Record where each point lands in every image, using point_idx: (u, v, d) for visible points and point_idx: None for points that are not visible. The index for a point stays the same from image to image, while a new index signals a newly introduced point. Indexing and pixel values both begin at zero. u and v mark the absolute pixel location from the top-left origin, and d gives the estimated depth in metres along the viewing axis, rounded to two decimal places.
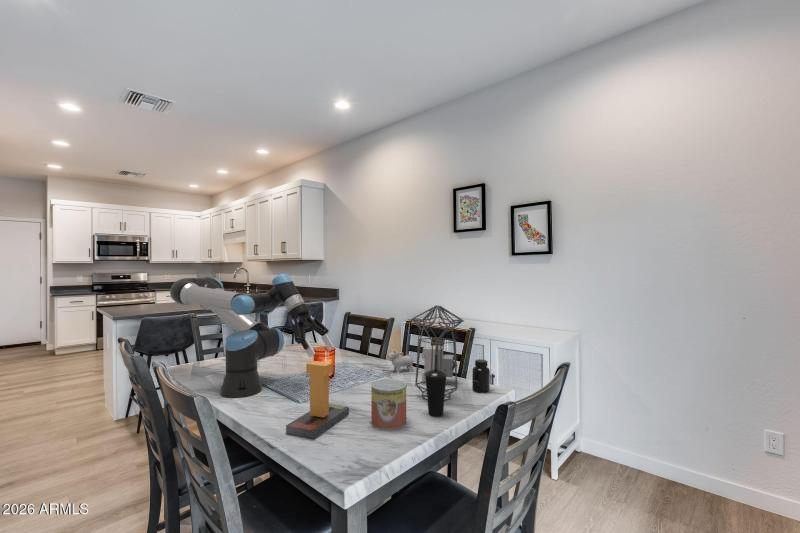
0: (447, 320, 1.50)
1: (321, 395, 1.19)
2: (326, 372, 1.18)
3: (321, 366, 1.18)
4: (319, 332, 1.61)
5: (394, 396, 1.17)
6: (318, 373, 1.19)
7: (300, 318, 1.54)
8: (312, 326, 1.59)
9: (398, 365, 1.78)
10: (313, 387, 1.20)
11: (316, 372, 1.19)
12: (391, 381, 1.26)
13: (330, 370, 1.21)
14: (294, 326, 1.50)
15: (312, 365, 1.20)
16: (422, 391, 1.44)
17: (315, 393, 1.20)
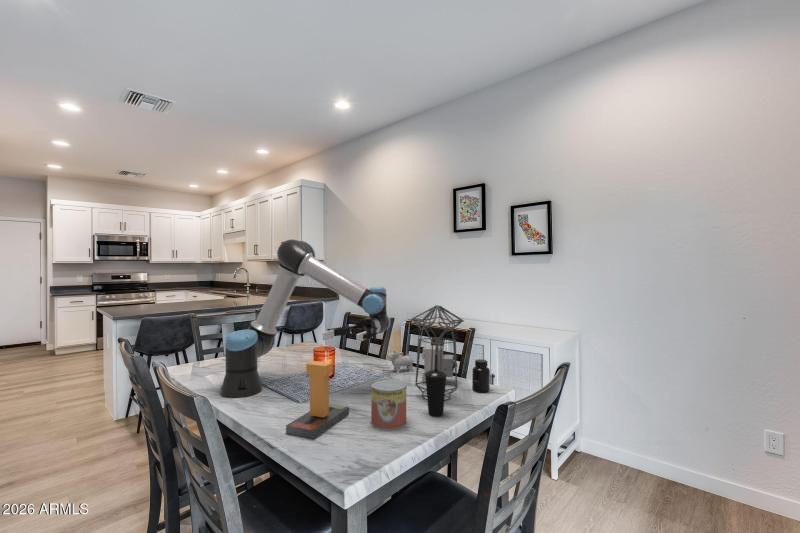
0: (447, 320, 1.51)
1: (321, 395, 1.19)
2: (326, 372, 1.18)
3: (321, 366, 1.18)
4: (338, 331, 1.44)
5: (394, 396, 1.17)
6: (318, 373, 1.19)
7: None
8: (348, 331, 1.45)
9: (398, 365, 1.78)
10: (313, 387, 1.20)
11: (316, 372, 1.19)
12: (391, 381, 1.26)
13: (330, 370, 1.21)
14: None
15: (312, 365, 1.20)
16: (422, 391, 1.44)
17: (315, 393, 1.20)
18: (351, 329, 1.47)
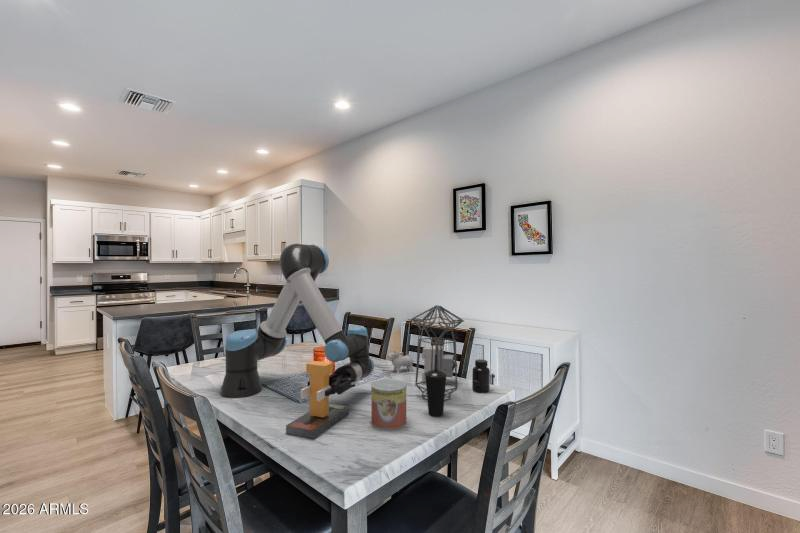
0: (447, 320, 1.50)
1: None
2: (326, 372, 1.18)
3: (321, 366, 1.18)
4: None
5: (394, 396, 1.17)
6: (318, 373, 1.19)
7: None
8: None
9: (398, 365, 1.78)
10: (313, 387, 1.20)
11: (316, 372, 1.19)
12: (391, 381, 1.26)
13: (330, 370, 1.21)
14: (349, 384, 1.27)
15: (312, 365, 1.20)
16: (422, 391, 1.44)
17: (315, 393, 1.20)
18: None
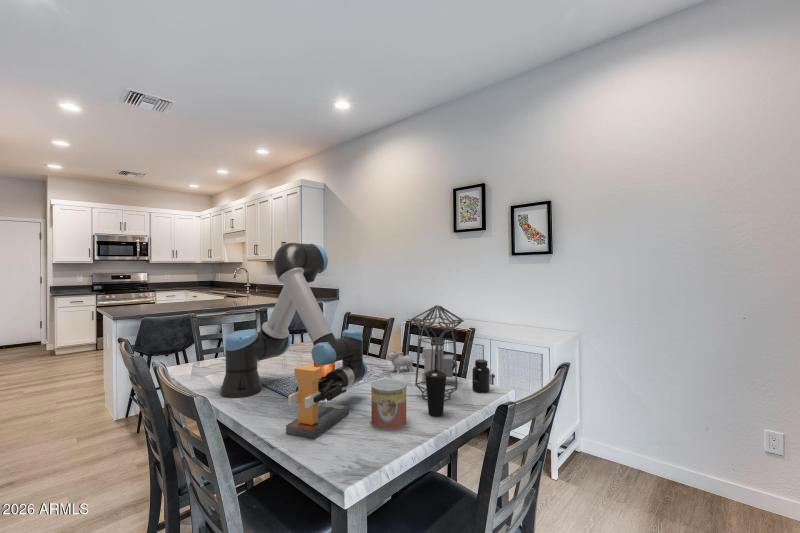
0: (447, 320, 1.51)
1: None
2: (315, 377, 1.13)
3: (310, 371, 1.13)
4: None
5: (394, 396, 1.17)
6: (307, 378, 1.13)
7: None
8: (318, 387, 1.23)
9: (398, 365, 1.78)
10: (301, 393, 1.14)
11: (304, 377, 1.13)
12: (391, 381, 1.26)
13: (320, 375, 1.15)
14: (340, 389, 1.21)
15: (300, 370, 1.14)
16: (422, 391, 1.44)
17: (303, 399, 1.14)
18: None
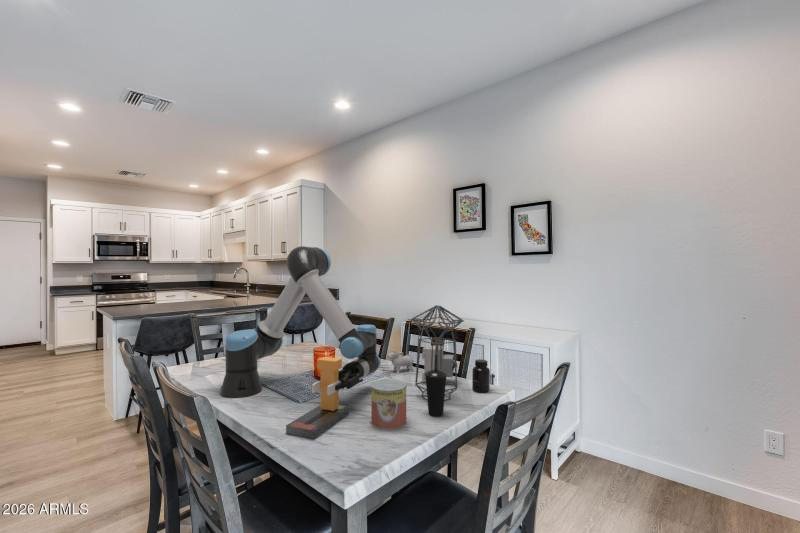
0: (447, 320, 1.51)
1: None
2: (336, 367, 1.24)
3: (331, 362, 1.24)
4: None
5: (394, 396, 1.17)
6: (328, 368, 1.24)
7: None
8: None
9: (398, 365, 1.78)
10: (323, 382, 1.25)
11: (326, 367, 1.24)
12: (391, 381, 1.26)
13: (340, 365, 1.26)
14: (358, 379, 1.32)
15: (323, 361, 1.25)
16: (422, 391, 1.44)
17: (325, 387, 1.25)
18: None
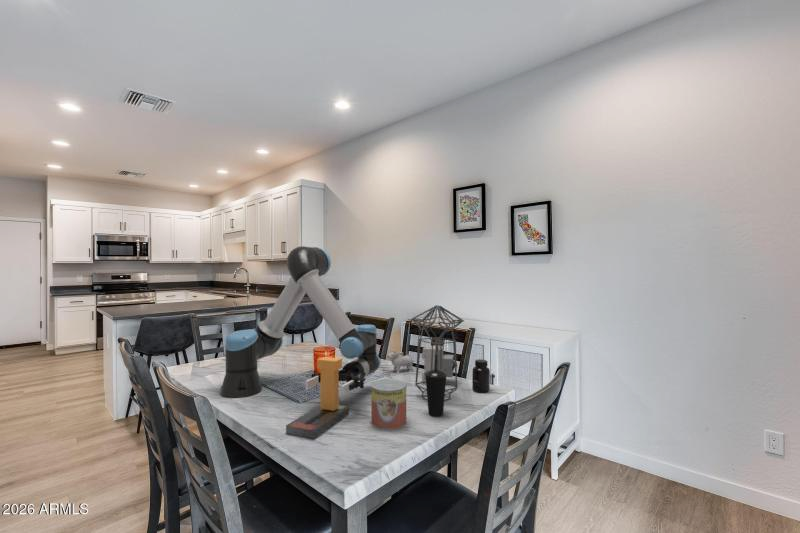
0: (447, 320, 1.51)
1: (332, 389, 1.24)
2: (336, 367, 1.24)
3: (331, 361, 1.24)
4: None
5: (394, 396, 1.17)
6: (328, 368, 1.24)
7: None
8: None
9: (398, 365, 1.78)
10: (323, 382, 1.26)
11: (326, 367, 1.25)
12: (391, 381, 1.26)
13: (340, 365, 1.26)
14: None
15: (323, 361, 1.25)
16: (422, 391, 1.44)
17: (325, 387, 1.25)
18: None
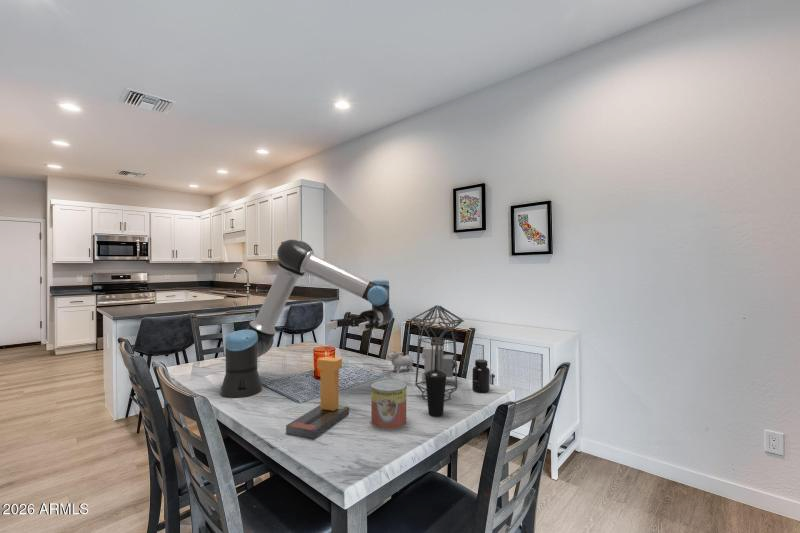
0: (447, 320, 1.50)
1: (332, 389, 1.24)
2: (336, 367, 1.24)
3: (331, 361, 1.24)
4: (341, 322, 1.46)
5: (394, 396, 1.17)
6: (328, 368, 1.24)
7: None
8: (351, 322, 1.48)
9: (398, 365, 1.78)
10: (323, 382, 1.26)
11: (326, 367, 1.25)
12: (391, 381, 1.26)
13: (340, 365, 1.26)
14: (378, 322, 1.45)
15: (323, 361, 1.25)
16: (422, 391, 1.44)
17: (325, 387, 1.25)
18: (354, 320, 1.49)
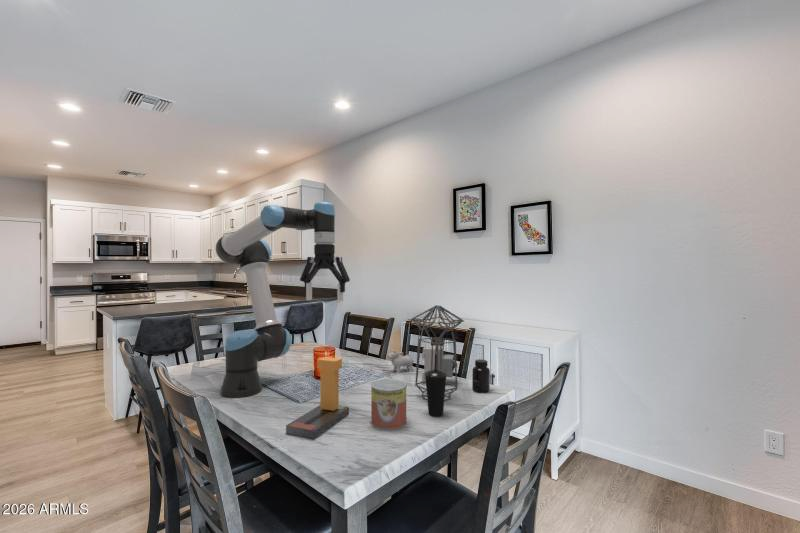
0: (447, 320, 1.51)
1: (332, 389, 1.24)
2: (336, 367, 1.24)
3: (331, 361, 1.24)
4: None
5: (394, 396, 1.17)
6: (328, 368, 1.24)
7: (315, 258, 1.44)
8: None
9: (398, 365, 1.78)
10: (323, 382, 1.26)
11: (326, 367, 1.25)
12: (391, 381, 1.26)
13: (340, 365, 1.26)
14: None
15: (323, 361, 1.25)
16: (422, 391, 1.44)
17: (325, 387, 1.25)
18: (331, 266, 1.43)
